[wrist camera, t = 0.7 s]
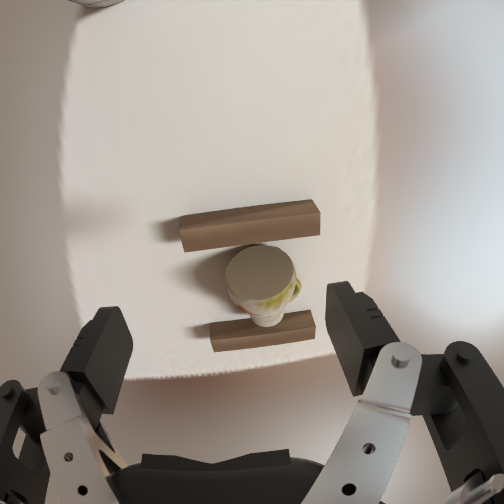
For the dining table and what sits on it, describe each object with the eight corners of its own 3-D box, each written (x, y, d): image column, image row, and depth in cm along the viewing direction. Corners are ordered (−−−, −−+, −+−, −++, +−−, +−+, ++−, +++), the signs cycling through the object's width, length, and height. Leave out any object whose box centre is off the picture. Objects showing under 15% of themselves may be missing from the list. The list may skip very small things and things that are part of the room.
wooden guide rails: (182, 215, 29) (178, 230, 26) (311, 199, 29) (320, 212, 27) (214, 334, 39) (214, 352, 36) (309, 322, 39) (314, 338, 36)
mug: (242, 316, 38) (219, 348, 28) (240, 240, 36) (215, 250, 27) (300, 318, 36) (295, 354, 26) (302, 241, 35) (298, 251, 25)
